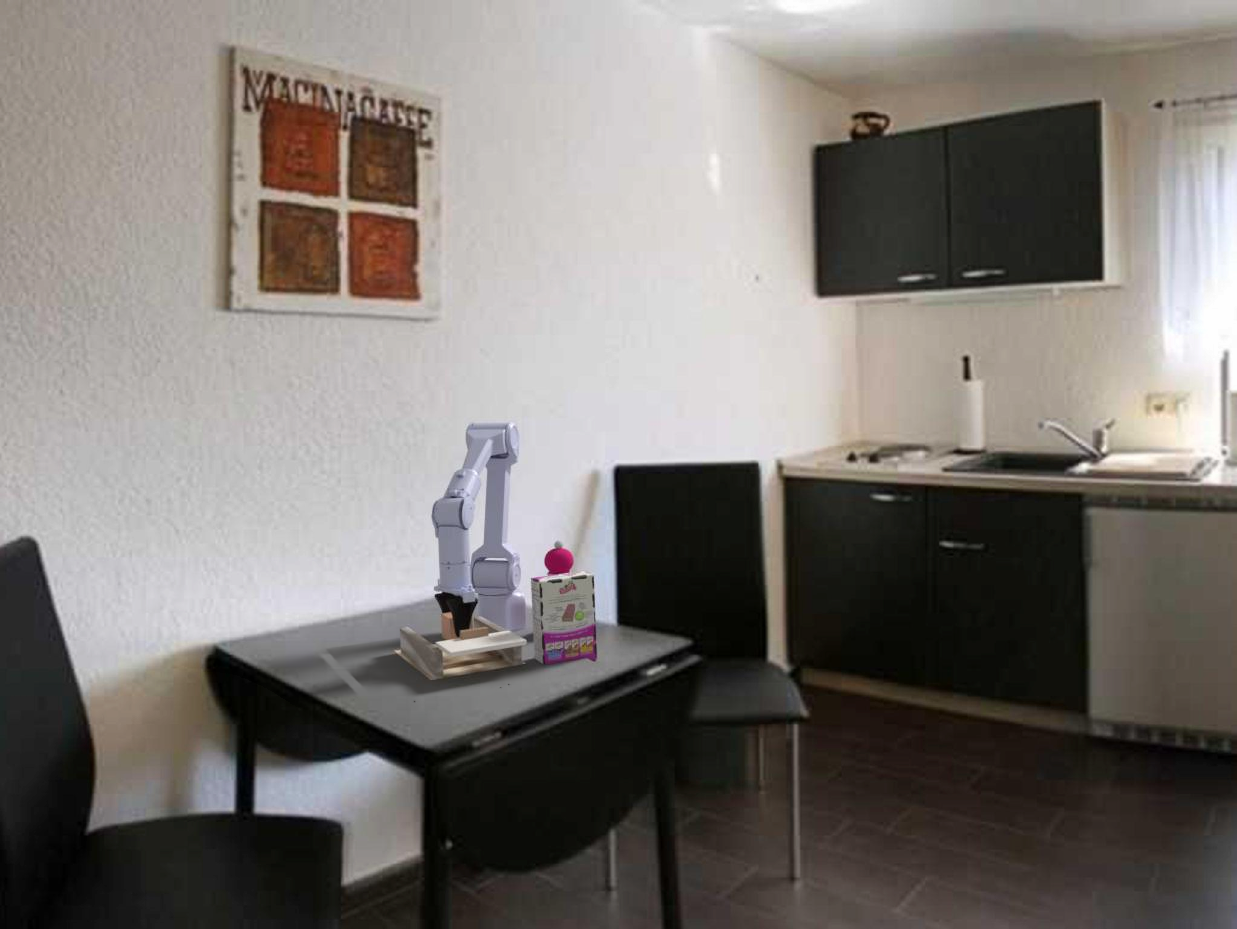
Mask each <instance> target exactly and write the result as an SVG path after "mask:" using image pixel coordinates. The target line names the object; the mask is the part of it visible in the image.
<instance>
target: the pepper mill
mask: <svg viewBox="0 0 1237 929" xmlns="http://www.w3.org/2000/svg"><path fill="white" fill-rule="evenodd" d="M553 546H554V548H552V549H550V550H548V551H547V552H546V554H545V556H544V558H543V559H544V560H543V561H544V566H545V568H546V569H547V570H548V572H547V573H546V576H549V575H557V574H564V573H572V571H571V569H572V568H573V566H574V563H575V562H574V561H575V559H574V556H573V554H572V552H571V551H570V550H569V549H567V548H563V546H564V544H563V542H562V541H560V540H556V541H555V542H554V545H553Z"/></svg>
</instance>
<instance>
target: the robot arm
mask: <svg viewBox="0 0 1237 929" xmlns="http://www.w3.org/2000/svg"><path fill="white" fill-rule="evenodd" d="M465 444H466V448H467V452H466V455H465V457H464V458H465V459H464V461H463V464H462V467H461V469H458V470H455V472H454V473H453V475H452V478H451V479H450V481H449V484H448V485H447V487H446V489H445V492H444V494H443V497H440V498H438V499H437V500H435V501H434V503H433V505H432V508H431V509H432V510H431V522H432V525H433V527H434V536H435V538H436V539H437V540H438V541H437V542H438V544H437V545H438V565H439V566H438V568H439V578H437V585H435V586H433V591H434V592H439V593H435V594H434V598H435V600H436V601H437V603H438V605H439V608H440V610H441V613H448V612H451V614H452V618H453V623H454V629H455V633H456V636H457V637H460V631H461V630H467V629H469V628H470V623H471V618H472V619H473V614H474V611H475V609H476V608H477V606H478V608H477V609H478V616H481V617H483V618H485V619H487V620H489V621H491V622H492V623H494V624H496V625H498V626H500V627H502V628H503V629H505V630H507V631H511V632H514V631H519V630H520V631H521V630H526V629H527V607H526V605H527V603H526V598H525V595H524V592H523V591H522V590H521V589H520V588H519V586H520V583H521V580H522V579H521V578H522V569H521V563H520V561H521V560H520V555H519V554H518V552H517V551H515V550H514V549H513V548H512V547H511V546H510V545H509V544H508V531H509V530H508V528H509V511H510V509H509V508H510V491H511V490H510V488H511V486H510V485H511V472H512V466H513V465H515V464H517V463H518V461H519V455H520V432H519V429H518V427H517V425H516V424H515V423H514V421H508V422H474V421H473V422H470V423H469V425H468V426H467V427H466V430H465ZM484 468H486V484H485V485H486V488H485V506H484V507H485V508H484V526H483V527H484V528H483V543H482V545H481V546H480V547H478V548H477V549H476V550H474V551H473V552H472V553H470V551H471V550H470V548H471V547H470V528H471V526H472V524H473V522H474V516H475V514H474V513H475V510H476V508H475V507H476V504H475V500H476V498H477V497H478V494H479V492H480V490H481V487H482V479H481V478H480V476H481V474H482V472H483V471H484ZM496 559H497V560H496ZM500 559H501V560H500ZM502 559H504V560H502ZM475 594H477V597H475V596H476V595H475Z"/></svg>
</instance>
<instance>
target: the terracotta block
mask: <svg viewBox="0 0 1237 929" xmlns="http://www.w3.org/2000/svg"><path fill="white" fill-rule="evenodd" d="M440 618H441V621H440V622H441V637H442V638H443V639H445V640H452V639H458V638H460V637H457V636H456V633H455V629H454V623H453V618H452V614H451V612H448V613H442V612H441V613H440ZM469 629H474V619H473V617H472V618H471V623H470V628H469Z"/></svg>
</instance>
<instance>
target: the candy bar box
mask: <svg viewBox="0 0 1237 929" xmlns="http://www.w3.org/2000/svg"><path fill="white" fill-rule="evenodd" d="M571 572H572V571H571ZM530 587H531V588H530V591H531V611H532V613H531V614H532V634H533V653H534V656H533V657H534V660H536V661H537V662H539V663H541V664H542V665H548V664H554V663H561V662H565V661H566V662H567V661H571V660H578V659H582V658H583V659H585V658H586V659H588V660H589V661H596V660H598V647H597V646H598V645H597V643H598V642H597V625H596V624H597V623H596V596H595V575H594V574H593V573H591V572H588V571H585V570H580V571H575V572H574V571H573V572H572V573H564V574H557V575H549V576H548V575H544V576H536V577H531V578H530Z"/></svg>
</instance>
